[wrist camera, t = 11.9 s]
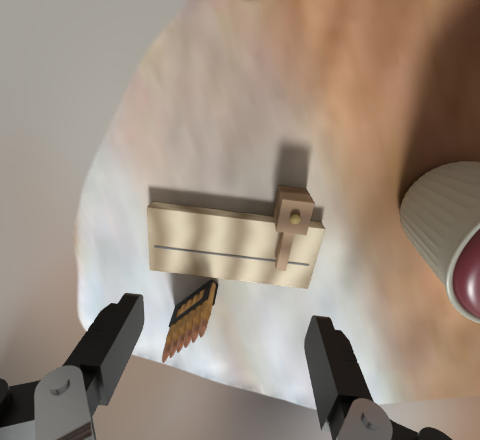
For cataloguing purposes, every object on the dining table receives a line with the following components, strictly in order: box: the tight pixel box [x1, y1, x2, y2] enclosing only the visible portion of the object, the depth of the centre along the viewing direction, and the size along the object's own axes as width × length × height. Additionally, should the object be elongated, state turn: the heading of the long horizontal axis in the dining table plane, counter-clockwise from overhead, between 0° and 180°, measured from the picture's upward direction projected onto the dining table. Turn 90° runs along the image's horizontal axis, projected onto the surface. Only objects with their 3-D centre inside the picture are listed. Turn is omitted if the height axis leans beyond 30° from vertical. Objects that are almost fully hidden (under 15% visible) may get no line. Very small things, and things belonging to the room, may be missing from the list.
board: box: [147, 202, 325, 289], centre depth 44 cm, size 28×12×2 cm, turn 83°
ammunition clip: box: [162, 280, 218, 363], centre depth 46 cm, size 11×2×12 cm, turn 133°
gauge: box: [273, 185, 315, 271], centre depth 41 cm, size 12×4×7 cm, turn 173°
